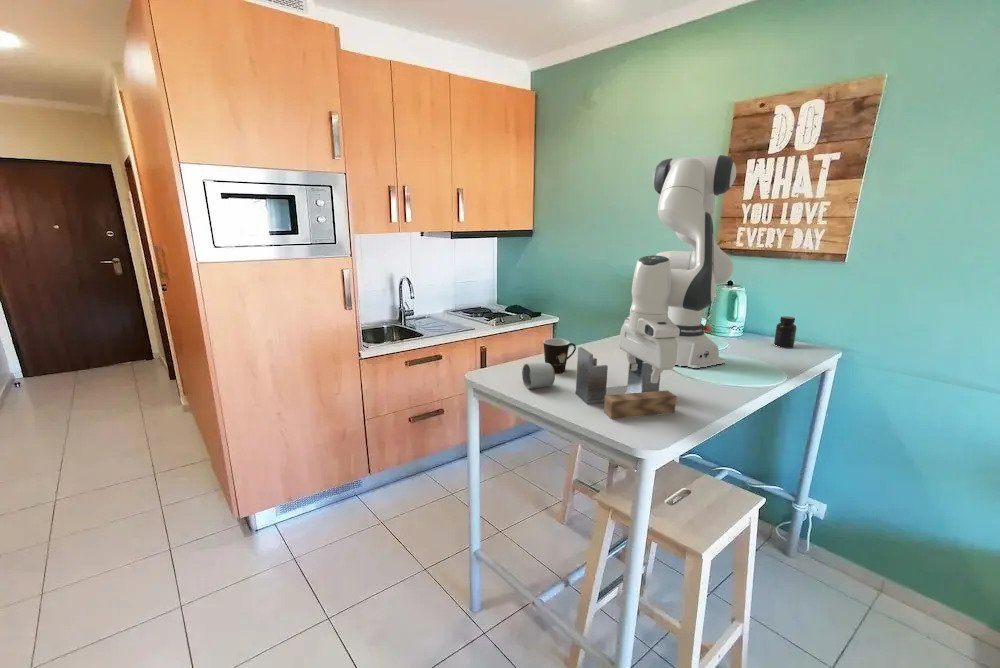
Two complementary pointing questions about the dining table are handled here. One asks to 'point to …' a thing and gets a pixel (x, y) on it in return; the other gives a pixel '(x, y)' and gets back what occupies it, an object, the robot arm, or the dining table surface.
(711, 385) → the dining table surface
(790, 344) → the supplement bottle
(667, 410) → the rail
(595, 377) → the bracket pair
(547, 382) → the ceramic mug
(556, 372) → the coffee mug
